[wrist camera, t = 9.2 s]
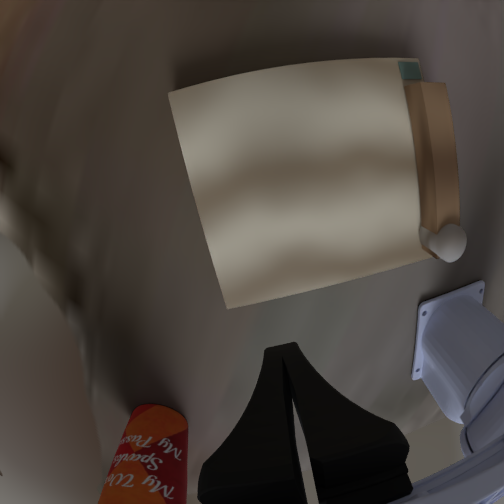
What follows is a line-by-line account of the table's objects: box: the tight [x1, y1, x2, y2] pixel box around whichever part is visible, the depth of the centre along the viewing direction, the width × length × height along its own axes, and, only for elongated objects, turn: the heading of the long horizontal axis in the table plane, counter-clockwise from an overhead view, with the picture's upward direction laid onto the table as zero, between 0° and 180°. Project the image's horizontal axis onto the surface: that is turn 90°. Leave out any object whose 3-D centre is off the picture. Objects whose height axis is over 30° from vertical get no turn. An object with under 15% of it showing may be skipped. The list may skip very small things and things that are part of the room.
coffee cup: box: [98, 404, 188, 504], centre depth 20 cm, size 8×8×15 cm
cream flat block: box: [168, 58, 433, 309], centre depth 18 cm, size 14×16×2 cm
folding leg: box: [404, 82, 467, 262], centre depth 16 cm, size 11×2×3 cm, turn 12°
